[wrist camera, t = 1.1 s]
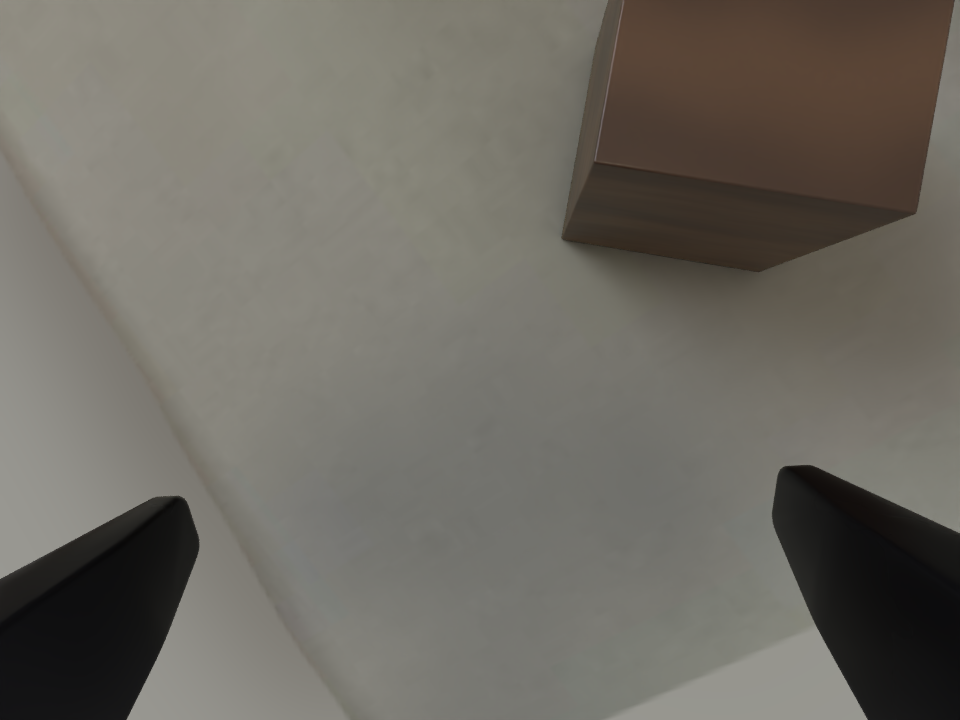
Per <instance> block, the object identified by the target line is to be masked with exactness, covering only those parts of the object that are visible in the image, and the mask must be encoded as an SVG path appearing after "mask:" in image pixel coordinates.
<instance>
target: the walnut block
mask: <svg viewBox="0 0 960 720" xmlns="http://www.w3.org/2000/svg"><path fill="white" fill-rule="evenodd" d="M954 1H955V0H608V3H607V7H606V10H605V14H604V18H603V21H602V25H601V29H600V32H599V36H598V40H597V43H596V47H595V53H594V59H593V64H592V70H591V75H590V81H589V87H588V92H587V98H586V104H585V109H584V115H583V120H582V126H581V132H580V137H579V143H578V148H577V154H576V160H575V165H574V171H573V176H572V182H571V188H570V193H569V199H568V205H567V210H566V216H565V221H564V227H563V233H562V239H563V240H569V241H575V242H581V243H587V244H593V245H599V246H605V247H611V248H617V249H623V250H629V251H635V252H641V253H647V254H653V255H659V256H665V257H671V258H677V259H683V260H689V261H695V262H702V263H708V264H714V265H720V266H726V267H732V268H738V269H744V270H750V271H756V272H760V271H763V270H765V269H768V268H771V267H774V266H776V265H779V264H782V263H784V262H787V261H790V260H792V259H795V258H798V257H801V256H803V255H806V254H809V253H811V252H814V251H817V250H819V249H822V248H825V247H828V246H830V245H833V244H836V243H838V242H841V241H844V240H846V239H849V238H852V237H854V236H857V235H860V234H863V233H865V232H868V231H871V230H873V229H876V228H879V227H881V226H884V225H887V224H890V223H892V222H895V221H898V220H900V219H903V218H906V217H908V216H911V215H914V214H916V212H917V207H918V202H919V196H920V190H921V185H922V179H923V174H924V168H925V163H926V157H927V151H928V146H929V140H930V135H931V129H932V123H933V118H934V112H935V107H936V101H937V95H938V90H939V84H940V79H941V73H942V68H943V62H944V56H945V51H946V45H947V40H948V34H949V28H950V23H951V17H952V12H953V6H954Z"/></svg>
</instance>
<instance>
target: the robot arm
mask: <svg viewBox="0 0 960 720" xmlns="http://www.w3.org/2000/svg"><path fill="white" fill-rule="evenodd" d="M772 519H773V525H774V528H775V531H776V533H777V536H778V538H779V540H780V543H781V545H782V548H783V550H784V552H785V555H786V557H787V559H788V562H789V564H790V567H791V569H792V571H793V574H794V576H795V578H796V581H797V583H798V586H799V588H800V590H801V593H802V595H803V597H804V600H805V602H806V605H807V607H808V609H809V611H810V614H811V616H812V618H813V620H814V622H815V624H816V626H817V628H818V630H819V632H820V634H821V636H822V637H823V640H824V641H825V643H826V645H827V647H828V649H829V650H830V652H831V654H832V656H833V657H834V659H835V661H836V663H837V665H838V667H839V668H840V670H841V672H842V674H843V676H844V678H845V679H846V681H847V683H848V685H849V687H850V688H851V690H852V692H853V694H854V696H855V697H856V699H857V701H858V703H859V704H860V706H861V708H862V710H863V712H864V713H865V715H866V717H867V719H868V720H960V533H958V532H956V531H953V530H951V529H949V528H947V527H945V526H943V525H940V524H938V523H936V522H934V521H932V520H929V519H927V518H925V517H923V516H921V515H919V514H916V513H914V512H912V511H910V510H908V509H906V508H903V507H901V506H899V505H897V504H895V503H893V502H890V501H888V500H886V499H884V498H882V497H880V496H877V495H875V494H873V493H871V492H869V491H867V490H864V489H862V488H860V487H858V486H856V485H854V484H851V483H849V482H847V481H845V480H843V479H841V478H838V477H836V476H834V475H832V474H830V473H828V472H825V471H823V470H821V469H819V468H817V467H814V466H811V465H798V466H784V467H783V468H782V469H780V471H779V473H778V477H777V483H776V490H775V496H774V503H773V510H772ZM198 551H199V537H198V534H197V530H196V528H195V524H194V521H193V518H192V515H191V512H190V509H189V506H188V504H187V501H186V500H185V499H184V498H182V497H180V496H163V497H155V498H152V499H150V500H148V501H146V502H144V503H142V504H140V505H139V506H137V507H135V508H133V509H131V510H129V511H127V512H126V513H124V514H122V515H120V516H118V517H116V518H114V519H112V520H110V521H109V522H107V523H105V524H103V525H101V526H99V527H97V528H95V529H93V530H92V531H90V532H88V533H86V534H84V535H82V536H80V537H79V538H77V539H75V540H73V541H71V542H69V543H67V544H65V545H64V546H62V547H60V548H58V549H56V550H54V551H52V552H50V553H49V554H47V555H45V556H43V557H41V558H39V559H37V560H35V561H33V562H32V563H30V564H28V565H26V566H24V567H22V568H20V569H18V570H16V571H15V572H13V573H11V574H9V575H7V576H5V577H3V578H1V579H0V720H126V719H127V717H128V716H129V714H130V712H131V709H132V708H133V705H134V703H135V701H136V699H137V697H138V695H139V693H140V691H141V689H142V687H143V685H144V683H145V681H146V679H147V677H148V675H149V673H150V671H151V669H152V667H153V665H154V663H155V661H156V659H157V657H158V655H159V653H160V650H161V648H162V646H163V644H164V641H165V639H166V636H167V634H168V632H169V629H170V627H171V624H172V621H173V619H174V616H175V613H176V611H177V608H178V605H179V603H180V600H181V598H182V595H183V592H184V590H185V587H186V585H187V582H188V579H189V577H190V574H191V571H192V569H193V566H194V564H195V561H196V558H197V555H198Z"/></svg>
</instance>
